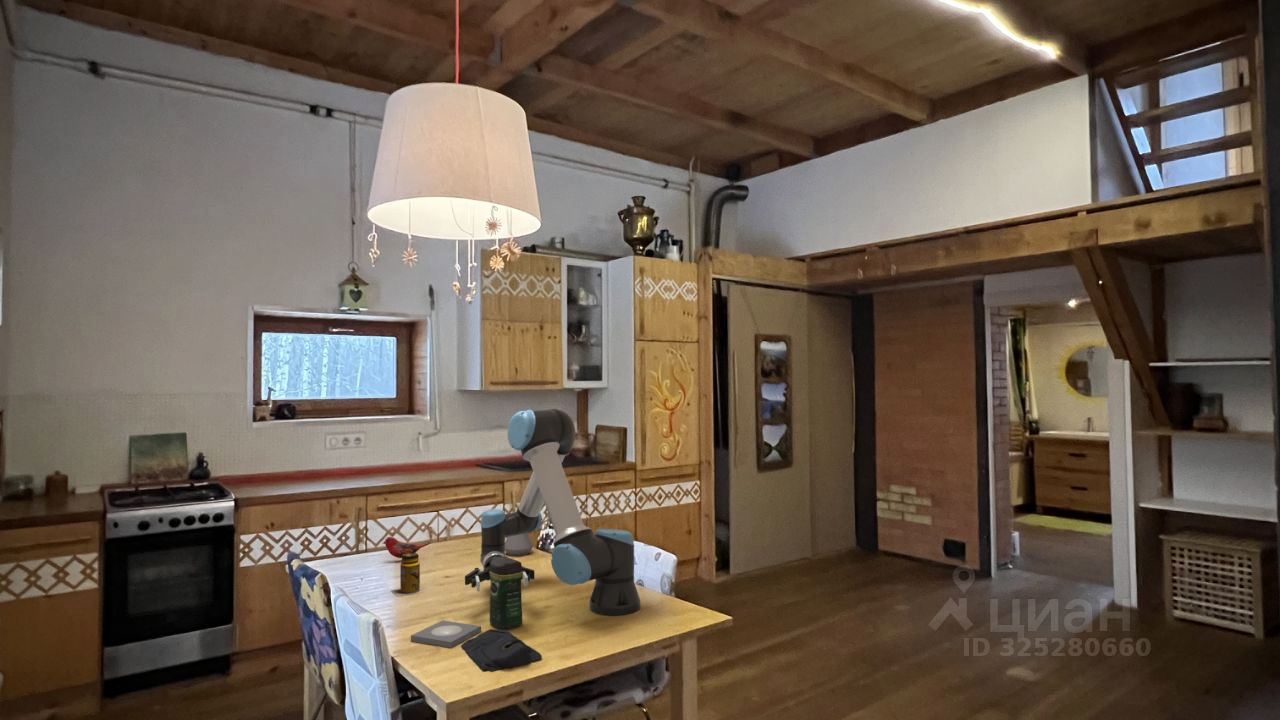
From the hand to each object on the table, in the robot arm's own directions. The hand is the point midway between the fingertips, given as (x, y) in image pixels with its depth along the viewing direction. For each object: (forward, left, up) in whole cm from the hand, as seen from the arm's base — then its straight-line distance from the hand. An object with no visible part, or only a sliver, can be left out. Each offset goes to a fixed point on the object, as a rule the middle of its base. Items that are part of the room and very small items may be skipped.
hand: (502, 584), depth 208 cm
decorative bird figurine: (+73, -44, -11) cm, 86 cm away
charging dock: (+7, +16, -10) cm, 20 cm away
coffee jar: (-2, +2, -11) cm, 11 cm away
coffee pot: (+36, -68, -11) cm, 78 cm away
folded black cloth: (-13, +21, -11) cm, 27 cm away
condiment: (+46, -13, -11) cm, 49 cm away
